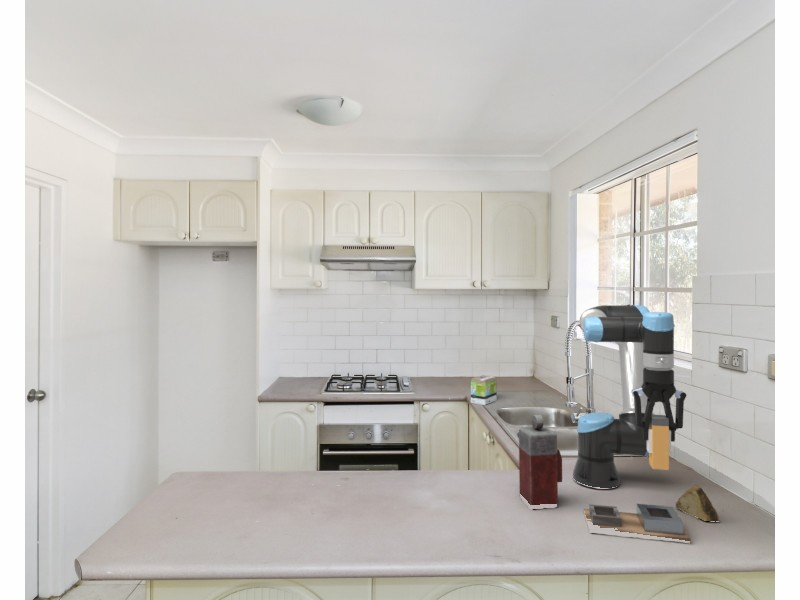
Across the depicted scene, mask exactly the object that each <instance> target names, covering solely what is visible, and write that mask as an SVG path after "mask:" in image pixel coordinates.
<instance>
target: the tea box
mask: <svg viewBox="0 0 800 600" xmlns="http://www.w3.org/2000/svg"><path fill="white" fill-rule="evenodd" d="M497 380H498V379H497V376H493V375H492V376H491V375H484V374H482V375H478V376H475V377H473V378H471V379H470V403H471V404H475V405H480V406H486V405H488V404H490V403H494V402H496V401H497V400H498V399H497V398H498V397H497V396H498V395H497V393H498V392H497V391H498V389H497V385H498V384H497V383H498V381H497Z"/></svg>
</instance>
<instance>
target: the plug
mask: <svg viewBox="0 0 800 600" xmlns="http://www.w3.org/2000/svg"><path fill="white" fill-rule="evenodd" d="M649 427H650V428H651V429H652V453H649V456H648V464H649V466H650V468H651V469H653V470H665V471H669V470H670V454H669V419H668V418H667V417H666V415H665V414H655V415H652V417H651V421H650V425H649Z"/></svg>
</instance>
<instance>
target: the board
mask: <svg viewBox="0 0 800 600" xmlns="http://www.w3.org/2000/svg"><path fill="white" fill-rule="evenodd" d="M584 511H585V515H586V518H587V519H591V520H587V521H590V522H592V523H593V525H598V526H600V528H614V529H615V528H617V529H618V530H615V531H620V532H629V533H637V534H643V535H650V536H657V537H665V538H672V539H679V540H685V541H690V542H691V537H690V535H689V533H687V531H686V530H685V527H683V536H682V535H672V534H663V533H653V532H645V531H644V529H643V527H642V525H641V523H640V521H639V519H638V517H637V512H624V511H619V509H618V506H613V505H602V504H592V503H591V504H590V503H589V508H583V512H584Z"/></svg>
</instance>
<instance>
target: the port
mask: <svg viewBox="0 0 800 600" xmlns="http://www.w3.org/2000/svg"><path fill="white" fill-rule="evenodd" d="M636 514H637V517H638V519H639V521H640V523H641V525H642V527H643V529H644V531H645V532H653V533H663V534H672V535H682V536H683V528H684V521H683V520H682V519H681V517H680V515H679V514H678V512H677V511H676V510H675V508H674V507H673V506H668V505H657V504H656V505H654V504H647V503H646V504H645V503H636Z"/></svg>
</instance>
